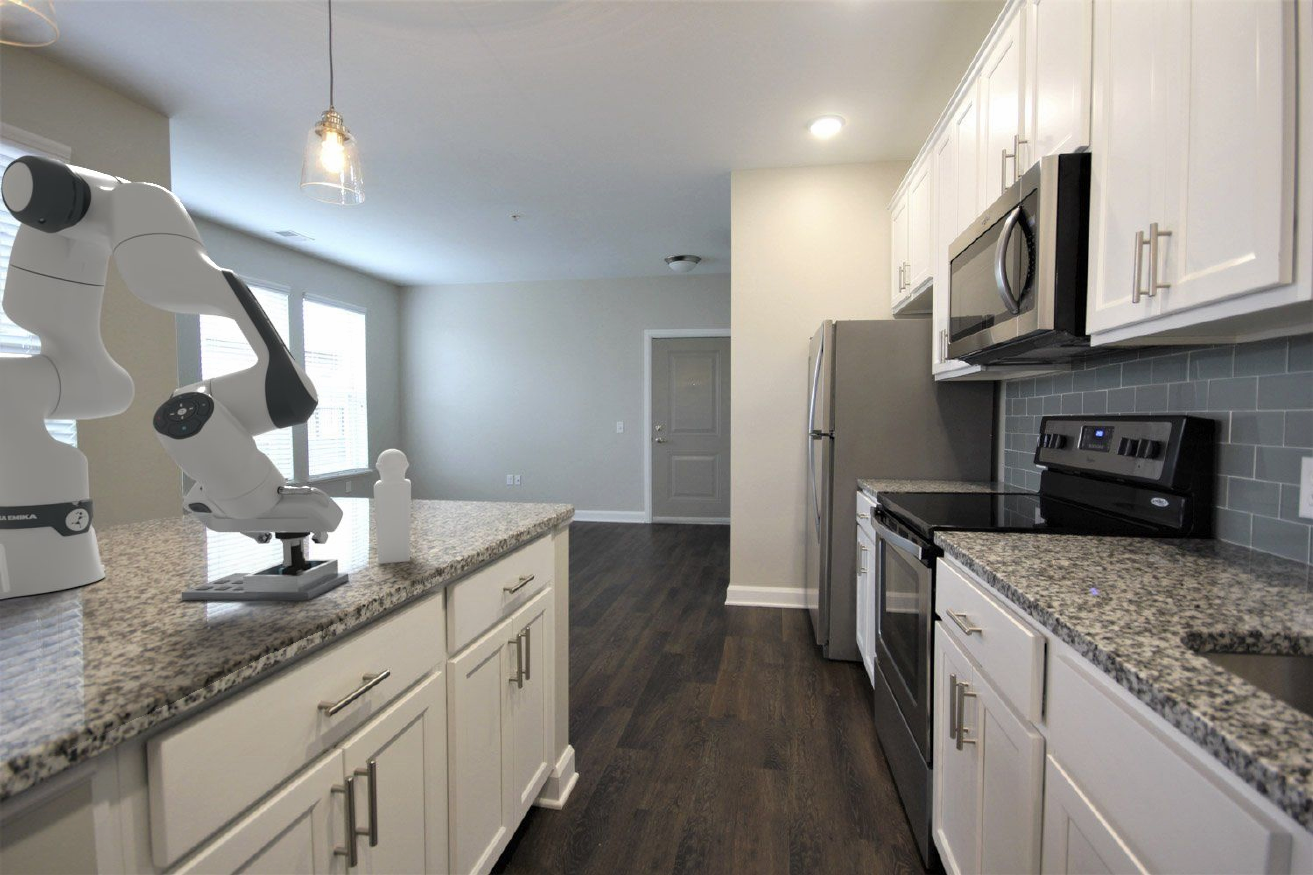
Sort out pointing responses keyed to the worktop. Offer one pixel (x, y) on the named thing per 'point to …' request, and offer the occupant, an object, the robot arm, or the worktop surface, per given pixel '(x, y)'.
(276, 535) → the push button
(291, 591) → the organizer
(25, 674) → the worktop surface
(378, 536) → the white bottle
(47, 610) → the worktop surface
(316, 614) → the worktop surface
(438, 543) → the worktop surface
